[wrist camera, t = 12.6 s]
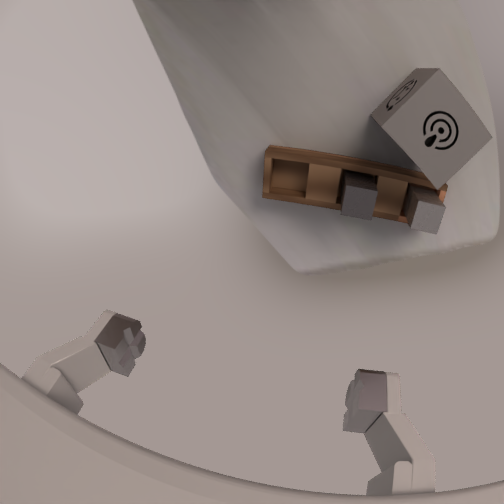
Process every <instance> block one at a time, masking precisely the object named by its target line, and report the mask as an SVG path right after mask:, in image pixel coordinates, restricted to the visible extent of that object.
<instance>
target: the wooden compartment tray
mask: <svg viewBox="0 0 504 504" xmlns="http://www.w3.org/2000/svg"><path fill="white" fill-rule="evenodd" d="M344 169H347V170H352V171H357V172H363V173H368V174H372V175H373V178H374V181H375V184H376V187H377V190H378V194H377V198H376V202H375V207H374V211H373V215H372V216H374V217H379V218H384V219H389V220H394V221H399V222H404V223H408V221H407V219H406V216H405V214H404V212H403V209H402V204H403V201H404V197H405V193H406V189H407V185H408V182H410V183H414V184H418V185H422V186H426V187H430V188H433V190H434V191H435V193H436V194H437V195H438V197H439V198H440V200H441V201H442V203H443V201H444V198H445V194H446V191H447V188H448V185H447V184H446V183H445V184H443V185H442V186H441V187H440V188H439V189H438V190H437V189H436V188H435V186H434V185H433V184H432V183H431V181H430V180H429V179H428V178H427V177H426V175H425V174H424V173H422V172H418V171H414V170H410V169H406V168H401V167H397V166H393V165H388V164H384V163H379V162H374V161H369V160H364V159H359V158H353V157H348V156H342V155H337V154H331V153H324V152H318V151H311V150H305V149H297V148H290V147H282V146H274V145H270V146H269V147H268V148H267V149H266V151H265V161H264V178H263V195H262V198H267V199H274V200H281V201H288V202H294V203H300V204H306V205H313V206H319V207H324V208H330V209H336V210H341V200H340V192H341V187H342V181H343V175H344Z"/></svg>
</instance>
